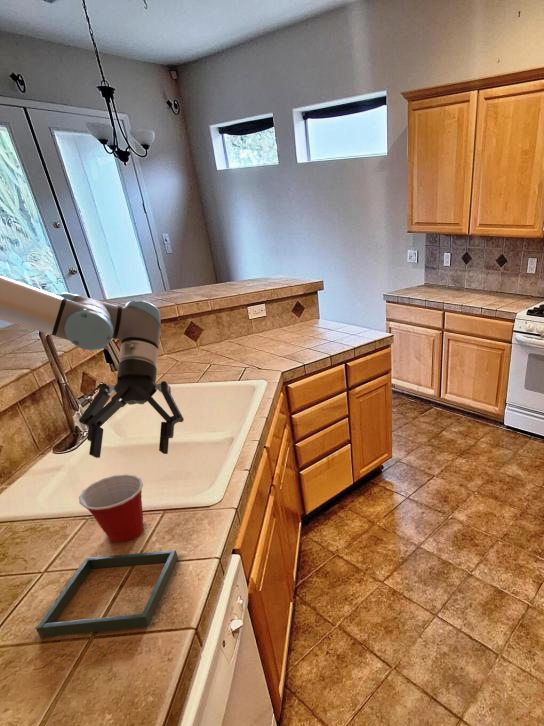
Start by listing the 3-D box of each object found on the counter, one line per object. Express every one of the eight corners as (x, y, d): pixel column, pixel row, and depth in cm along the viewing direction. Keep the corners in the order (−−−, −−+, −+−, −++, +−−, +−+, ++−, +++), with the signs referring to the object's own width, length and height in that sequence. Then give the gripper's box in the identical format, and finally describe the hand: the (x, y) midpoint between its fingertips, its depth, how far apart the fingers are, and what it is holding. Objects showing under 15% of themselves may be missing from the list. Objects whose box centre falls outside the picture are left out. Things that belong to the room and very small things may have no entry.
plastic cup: (84, 555, 84) (63, 505, 78) (115, 521, 93) (98, 474, 88) (140, 554, 84) (124, 504, 79) (165, 520, 94) (152, 474, 88)
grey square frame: (42, 642, 67) (35, 628, 65) (91, 570, 80) (86, 557, 79) (150, 630, 69) (145, 616, 67) (179, 562, 83) (175, 550, 81)
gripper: (68, 358, 93) (53, 452, 86) (190, 355, 96) (185, 445, 90) (87, 374, 100) (75, 462, 93) (200, 371, 103) (196, 455, 97)
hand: (129, 454), depth 91 cm, fingers open, 13 cm apart
